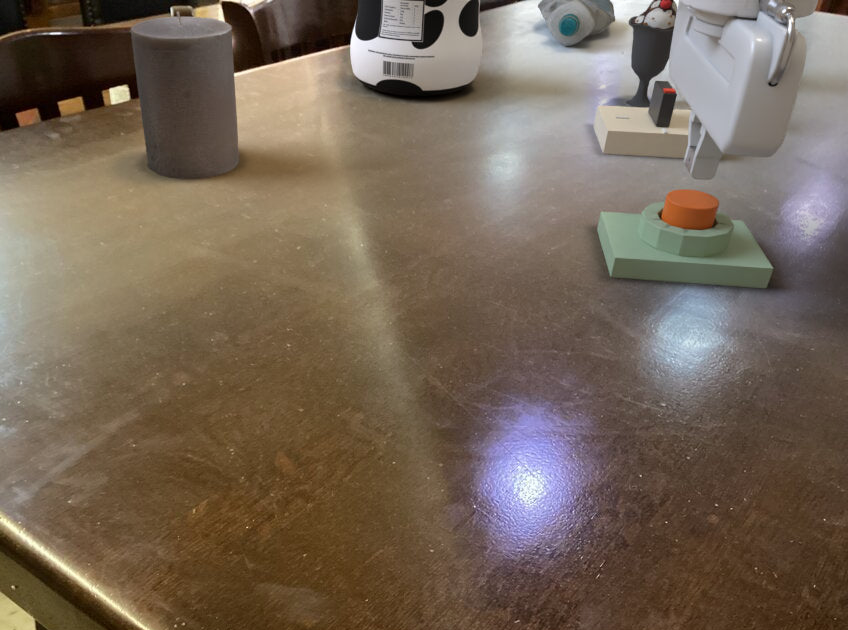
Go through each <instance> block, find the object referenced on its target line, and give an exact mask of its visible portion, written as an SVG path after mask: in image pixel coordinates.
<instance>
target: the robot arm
mask: <svg viewBox="0 0 848 630" xmlns="http://www.w3.org/2000/svg"><path fill="white" fill-rule="evenodd" d="M818 3H819V0H678V3H677V14H676V19H675V25H674V31H673V37H672V43H671V49H670V56H669V60H668V77H669V79H670V81H671V83H672V84H673V85H674V87H675V88H676V89H677V90H678V92H679V93H680V95H681V96H682V98H683V99H684V101H685V102H686V104H687V105H688V106H689V107H690V110H691V113H690V117H689V132H688V146H687V150H686V154H685V158H683V164H684V166H685V167H686V169H687V170H688V173H689V174H690V176H691V178H693V179H694V180H705V181H709V180H712V179H714V177H715V176H716V174H717V171H718V168H719V165H720V161H721V159H722V158H723V156H724V155H726V156H732V157H733V156H735V157H744V158H745V157H748V158H771V157H773V156H774V155H775V154H776V153H777V152H778V150H779V149H780V148H781V146H782V145H783V144H784V141H785V138H786V136H787V132H788V130H789V127H790V122H791V119H792V116H793V112H794V109H795V106H796V102H797V97H798V95H799V91H800V87H801V83H802V79H803V75H804V71H805V66H806V60H807V53H808V52H807V49H808V48H807V45H808V44H807V40H806V38H805V36H804V34H803V33H801V32H800V31H798V29H796V19H801V18H806V17H809V16H811V15H813V14H814V13H815V12H816V8H817V6H818Z"/></svg>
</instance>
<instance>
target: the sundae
mask: <svg viewBox="0 0 848 630" xmlns="http://www.w3.org/2000/svg"><path fill="white" fill-rule="evenodd" d="M677 8H678V4H677V3H676V1H675V0H652V1H650V3H649V4H648V6H647V8H646V9H645V11H643V12H641V14H639V15H636V16H631V17H630V18H629V20H628V25H629V26H630V27H631V28H632V46H631V57H630V59H631V60H630V61H631V63H630V67H631V69H632V71H633V73H634V74H635V75H636V76H637V78H638V80H639V81H638V82H639V83H638V86H637V91H636V93H635V95H634V96H633V97H632V98H631V99H627V100H625V102H624V103H625V104H626V105H628V106H629V107H642V108H649V106H650V101H651V100H650V99H649V96H648V93H649V91H648V90H649V86H650V81H651V80H652V79H653V78H656V77H657V76H658V75H660V74H661V73H662V72H663V71H664V70H665V69H666V66H667V64H668V63H669V56H670V49H671V43H672V37H673V31H674V25H675V19H676V14H677Z"/></svg>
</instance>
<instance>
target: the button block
mask: <svg viewBox="0 0 848 630" xmlns="http://www.w3.org/2000/svg"><path fill="white" fill-rule="evenodd" d="M664 204H665V200H664V201H659V202H654V203H650V204H648V205H647V206H646V207H645V208H644V209H643V210H642V211H641V213H630V212H629V213H628V212H617V211H615V212H614V211H600V215H599V219H598V224H597V228H596V232H597V234H598V238H599V242H600V245H601V249H602V252H603V256H604V259H605V263H606V266H607V269H608V274H609V276H610V278H619V279H630V280H631V279H632V280H645V281H657V282H659V281H660V282H671V283H672V282H673V283H687V284H701V285H713V286H714V285H716V286H727V287H728V286H729V287H740V288H742V287H743V288H756V289H768V285H769V282H770V281H771V278H772V274H773V271H774V267H773V265H772V263H771V262H770V261H769V259H768V257H767V256H766V254H765V253H764V251H763V250H762V248H761V246H760V245H759V243H758V242H757V240H756V238H755V237H754V235H753V234H752V233H751V231H750V229H749V228H748V226H747V225H746V223H745V222H744V220H739V219H731V217H730V216H729V215H727V214H725V213H724V212H722V211H720V210H719V209H718V210H717V213H716V216H715V220H714V223H713V226H712V228H711V229H706V230H689V229H683V228H679V227H675V226H671V225H669V224H667V223H665V222H664V221H662V220H661V216H662V212H663V208H664Z"/></svg>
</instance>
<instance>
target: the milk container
mask: <svg viewBox="0 0 848 630" xmlns="http://www.w3.org/2000/svg"><path fill="white" fill-rule="evenodd" d="M357 3H358V5H357V14H356V18H355V22H354V26H353V28H352V32H351V36H350V37H351V38H350V46H349V53H350V54H349V55H350V63H351V69H352V70H351V71H352V73H353V75H354V77H355V79H357V81H358V82H360V83H361V84H362V85H363V86H364V87H366V88H369V89H373V90H374V91H377V92H381V93H386V94H392V95H396V96H408V97H433V96H434V97H435V96H439V95H446V94H447V95H448V94H452V93H455V92H458V91H461V90H464V89H465V88H466V87H468V86H470V85H471V84H472V83H473V82H474V81H475V79H476V77H477V76H478V72H479V69H480V66H481V61H482V57H483V46H484V45H483V44H484V43H483V36H482V28H481V21H480V6H481V0H358V2H357Z"/></svg>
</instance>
